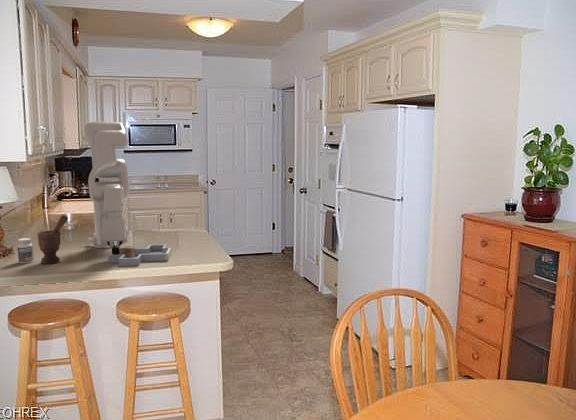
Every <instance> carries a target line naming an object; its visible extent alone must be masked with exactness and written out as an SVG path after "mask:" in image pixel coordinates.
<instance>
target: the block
mask: <svg viewBox="0 0 576 420" xmlns="http://www.w3.org/2000/svg"><path fill="white" fill-rule="evenodd" d="M119 248H120V255H121V254H125V258H136V255H135V251H134V248H135V246H134V245H121V246H120V247H119Z"/></svg>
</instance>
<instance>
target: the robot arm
mask: <svg viewBox="0 0 576 420" xmlns="http://www.w3.org/2000/svg"><path fill="white" fill-rule="evenodd" d="M84 134H85V138H86V142H87V144H88V146H89V148H90V151H91V163H92V168H91V170H90V173H89V175H88V181H87V182H88V191H89V197H90V200H91V201H92V203H93V211H94V227H95V228H94V232H95V237H87V238H86V243H92V247H93V248H95V249H109V248H111V255H119V254H120V248H121V246H122V244H126V243H128V242H129V240H128V226H127V222H126V218H125V216H124V211H123V210H124V208H123V207H124V206H123V205H124V204H123V201H125V200H128V199H129V197H130V184H129V183H130V182H129V170H128V164H127V162H126V161H125V160H124V159H123V158H117V154H116V150H119V149H121V150H122V149H126V148H127V147H128V144H129V138H128V134H127V131H126V129H125V126H124V125H123V123H122V122H121V121H90V122H87V123H86V124H85V125H84ZM96 178H97V179H99V180H100V179H103V181H101V180H100V181H97V182H96ZM104 179H117V180H113V181H112V180H111V181H110V180H104Z"/></svg>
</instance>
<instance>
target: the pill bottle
mask: <svg viewBox="0 0 576 420" xmlns="http://www.w3.org/2000/svg"><path fill="white" fill-rule="evenodd" d="M17 241H18V245H17V255H18V257H17V259H18V263H20V264H30V263H33V262H34V259H35V258H34V247H33V246H34V245H33V243H31V241H32V239H31V238H30V237H28V238H27V237H24V238H23V237H22V238H19V239H18V240H17Z"/></svg>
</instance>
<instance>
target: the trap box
mask: <svg viewBox="0 0 576 420" xmlns="http://www.w3.org/2000/svg"><path fill="white" fill-rule="evenodd" d="M134 251H135V256H136V257H134V258H125V254H121V255H120V254H119V255H113V254H108V255H107V261H108V263H118V267H129V266H134V267H135V266H140V265H141V264H142V262H164V261H165V262H168V261H169V260H170V257H171V256H172V253H173V251H172V247H170V246H169V247H168V244H148V245H147V247H134Z"/></svg>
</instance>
